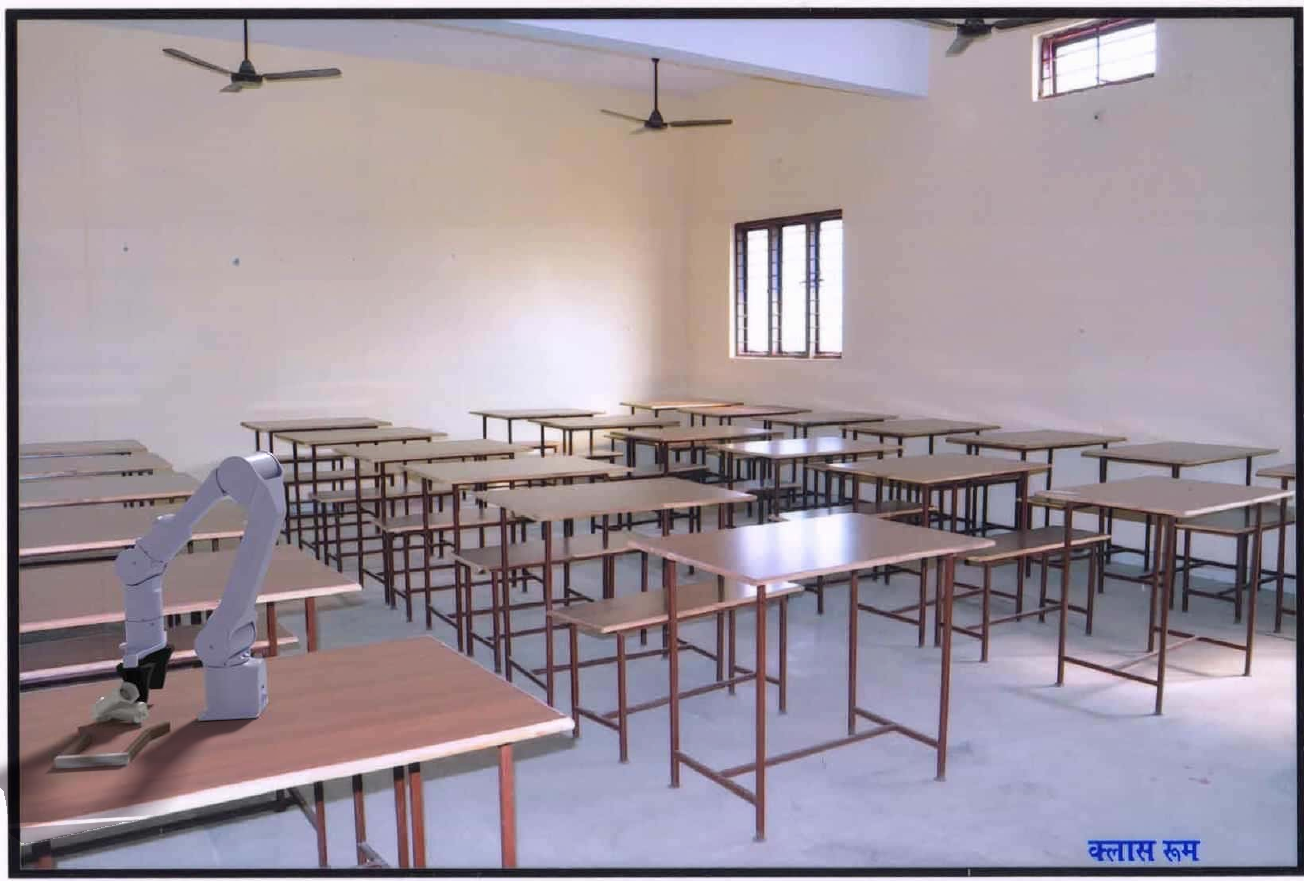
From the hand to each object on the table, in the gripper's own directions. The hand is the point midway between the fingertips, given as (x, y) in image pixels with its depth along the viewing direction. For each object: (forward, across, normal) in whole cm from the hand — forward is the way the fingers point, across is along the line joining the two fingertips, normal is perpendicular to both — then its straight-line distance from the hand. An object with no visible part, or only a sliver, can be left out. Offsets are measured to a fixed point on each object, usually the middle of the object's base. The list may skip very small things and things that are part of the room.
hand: (148, 696), depth 172 cm
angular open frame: (+2, +18, 0) cm, 18 cm away
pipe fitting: (+3, +5, 0) cm, 6 cm away
